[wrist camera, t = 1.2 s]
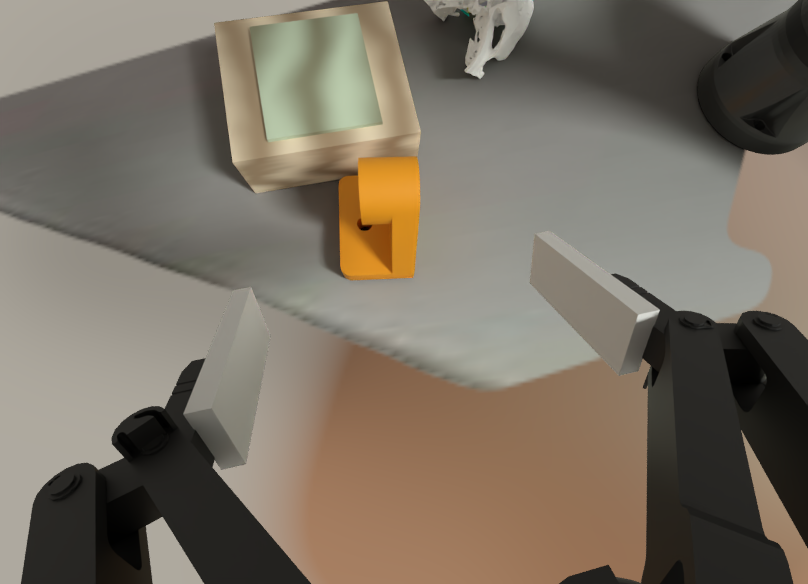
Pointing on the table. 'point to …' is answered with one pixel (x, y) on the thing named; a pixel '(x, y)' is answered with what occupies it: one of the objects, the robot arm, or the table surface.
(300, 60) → the riser stand
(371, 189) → the bracket
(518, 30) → the white bone skull
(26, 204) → the table surface
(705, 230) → the table surface
